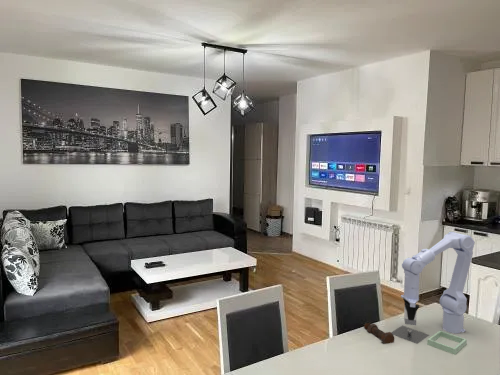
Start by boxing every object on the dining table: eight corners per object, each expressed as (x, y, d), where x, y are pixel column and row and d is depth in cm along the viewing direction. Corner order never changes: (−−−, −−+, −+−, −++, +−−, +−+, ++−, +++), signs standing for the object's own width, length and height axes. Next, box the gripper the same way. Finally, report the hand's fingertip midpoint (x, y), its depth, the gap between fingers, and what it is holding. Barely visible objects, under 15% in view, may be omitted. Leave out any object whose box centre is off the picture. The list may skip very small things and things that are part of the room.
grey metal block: (415, 321, 158) (415, 306, 157) (416, 325, 154) (416, 310, 153) (404, 319, 159) (404, 305, 159) (404, 324, 155) (405, 309, 155)
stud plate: (402, 327, 165) (402, 320, 165) (429, 337, 156) (430, 329, 156) (389, 335, 157) (389, 328, 157) (417, 346, 148) (417, 338, 148)
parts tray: (439, 337, 156) (439, 330, 156) (466, 346, 149) (466, 339, 148) (427, 346, 148) (427, 339, 148) (454, 357, 140) (455, 349, 140)
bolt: (367, 333, 163) (390, 348, 149) (359, 329, 162) (381, 344, 148) (373, 321, 164) (396, 335, 150) (365, 317, 163) (387, 331, 148)
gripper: (400, 280, 164) (399, 309, 164) (402, 291, 150) (401, 323, 151) (417, 282, 161) (416, 311, 162) (421, 293, 148) (420, 325, 148)
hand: (410, 317), depth 156 cm, fingers closed on grey metal block, 4 cm apart
